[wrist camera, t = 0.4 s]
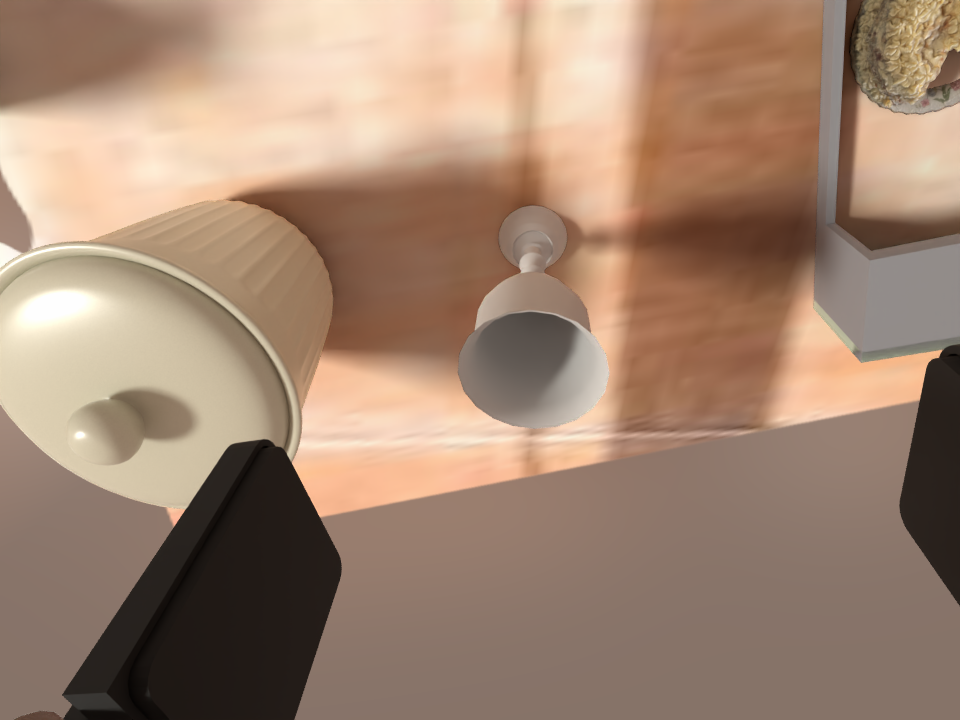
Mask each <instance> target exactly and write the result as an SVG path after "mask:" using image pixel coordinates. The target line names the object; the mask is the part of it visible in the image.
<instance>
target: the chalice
mask: <svg viewBox="0 0 960 720" xmlns="http://www.w3.org/2000/svg"><path fill="white" fill-rule="evenodd" d="M498 241H499V245H500V250H501V252H502V253H503V255H504V257H505V258H506V259H507V260H508V261H509V262H510V263H511V264H513V265H514V266H516V267H518V268H520V270H521V273H519V274H516V275H514V276H511V277H509V278H507V279H505V280H504V281H502V282H501V283H500V284H498V285H497V286H496V287H495V288H494V289H493V290H492V291H490V292H489V293H488V294H487V295H486V296H485V298H484V300H483V301H482V303H481V305H480V307H479V309H478V313H477V319H476V325H475V331H474V332H473V333H472V334H470V335H469V336H468V338H467V340H466V342H465V344H464V346H463V348H462V350H461V352H460V354H459V364H458V375H459V378H460V381H461V384H462V387H463V390H464V392H465V393H466V394H467V395H468V397H469V398H470V399H471V400H472V402H473V403H474V404H475V406H476V407H478V408H479V409H481V410H482V411H483V412H485V413H486V414H488V415H489V416H491V417H492V418H494V419H496V420H499V421H502V422H504V423H507V424H510V425H512V426H518V427H525V428H533V429H537V428H548V427H557V426H560V425H563V424H566V423H569V422H571V421H574V420H577V419H578V418H580V417H581V416H582V415H584V414H585V413H587V412H588V411H590V410H591V409H592V408H594V406H595V405H596V404H597V402H598V401H599V399H600V398H601V397H602V395H603V394H604V392H605V389H606V385H607V381H608V377H609V368H608V363H607V357H606V353H605V352H604V350H603V349H602V347H601V345H600V344H599V342H598V341H597V339H596V337H595V336H594V335H592V334H591V329H590V323H589V318H588V313H587V309H586V307H585V306H584V304H583V302H582V301H581V299H580V297H579V296H578V295H577V294H576V293H574V292H573V291H572V290H571V289H570V288H568V287H567V286H566V285H565V284H564V283H562V282H561V281H560V280H559V279H557V278H555V277H552V276H550V275H548V274H545V272H544V271H545V269H546V268H547V267H548V266H550V265H552V264H554V263H555V262H556V261H557V260H558V259H559V258H560V257H561V255H562V254H563V252H564V250H565V248H566V243H567V232H566V227H565V225H564V223H563V221H562V220H561V218H560V217H559V216H558V215H557V214H556V213H555V212H553V211H552V210H550V209H547V208H545V207H543V206H534V205H531V206H525V207H521V208H519V209H517V210H515V211H513V212H512V213H511V214H510V215H509V216H508V217H507V218H506V219H505V220H504V221H503V223H502V226H501V228H500V230H499V238H498Z"/></svg>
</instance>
